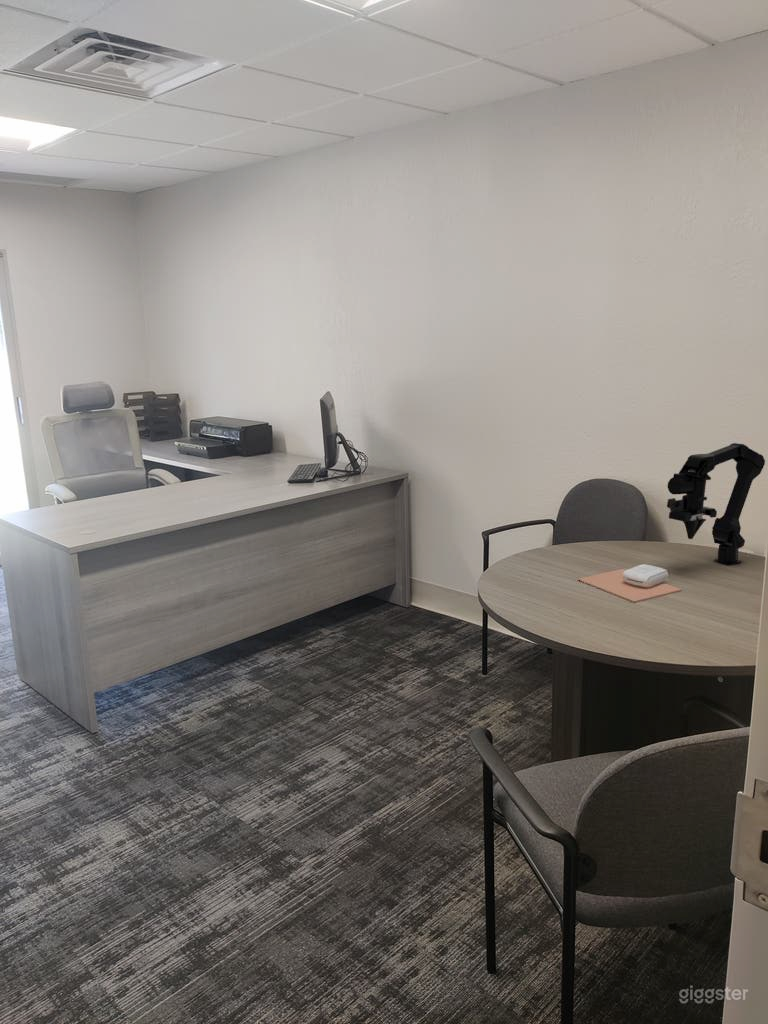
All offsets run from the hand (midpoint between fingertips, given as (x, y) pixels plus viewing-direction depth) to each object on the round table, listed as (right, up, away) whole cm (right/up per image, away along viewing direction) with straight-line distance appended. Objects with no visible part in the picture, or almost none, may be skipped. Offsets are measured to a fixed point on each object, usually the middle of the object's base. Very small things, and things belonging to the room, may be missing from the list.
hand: (690, 538), depth 260 cm
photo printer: (-14, -11, -5) cm, 18 cm away
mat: (-24, -15, -9) cm, 29 cm away
